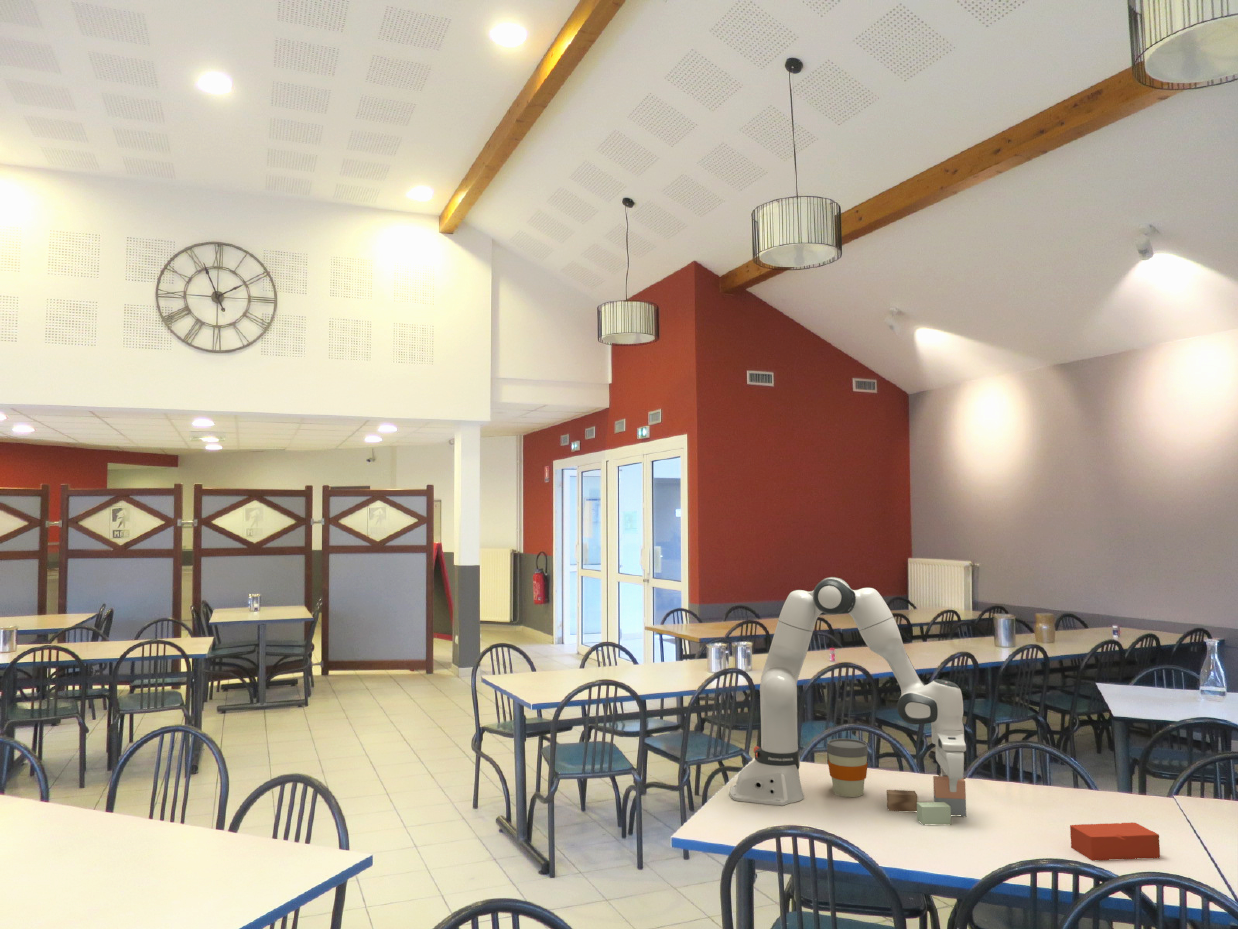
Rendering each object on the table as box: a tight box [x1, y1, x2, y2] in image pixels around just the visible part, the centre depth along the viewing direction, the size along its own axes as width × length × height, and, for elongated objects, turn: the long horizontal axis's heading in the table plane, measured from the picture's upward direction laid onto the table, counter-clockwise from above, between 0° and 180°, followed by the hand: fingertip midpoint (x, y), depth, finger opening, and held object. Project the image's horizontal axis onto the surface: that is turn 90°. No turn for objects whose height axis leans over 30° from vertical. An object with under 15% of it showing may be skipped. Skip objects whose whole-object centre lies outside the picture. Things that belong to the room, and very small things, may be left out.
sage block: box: [916, 801, 952, 826], centre depth 241 cm, size 8×4×5 cm, turn 92°
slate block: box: [933, 794, 967, 817], centre depth 248 cm, size 8×4×5 cm, turn 80°
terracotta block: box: [932, 775, 967, 800], centre depth 248 cm, size 8×4×5 cm, turn 80°
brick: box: [1069, 822, 1161, 862], centre depth 218 cm, size 18×9×6 cm, turn 95°
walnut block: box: [886, 789, 918, 812], centre depth 252 cm, size 8×4×5 cm, turn 81°
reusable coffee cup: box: [826, 738, 869, 798], centre depth 268 cm, size 13×12×15 cm
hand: (949, 786), depth 248 cm, fingers open, 8 cm apart
